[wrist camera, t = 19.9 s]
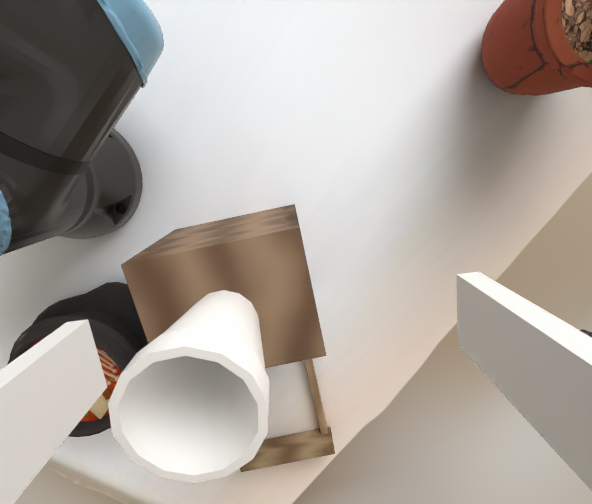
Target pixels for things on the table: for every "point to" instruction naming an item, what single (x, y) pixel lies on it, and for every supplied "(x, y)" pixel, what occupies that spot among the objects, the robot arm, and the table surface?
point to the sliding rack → (296, 438)
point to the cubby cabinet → (233, 279)
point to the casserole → (95, 340)
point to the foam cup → (196, 394)
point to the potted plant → (539, 46)
